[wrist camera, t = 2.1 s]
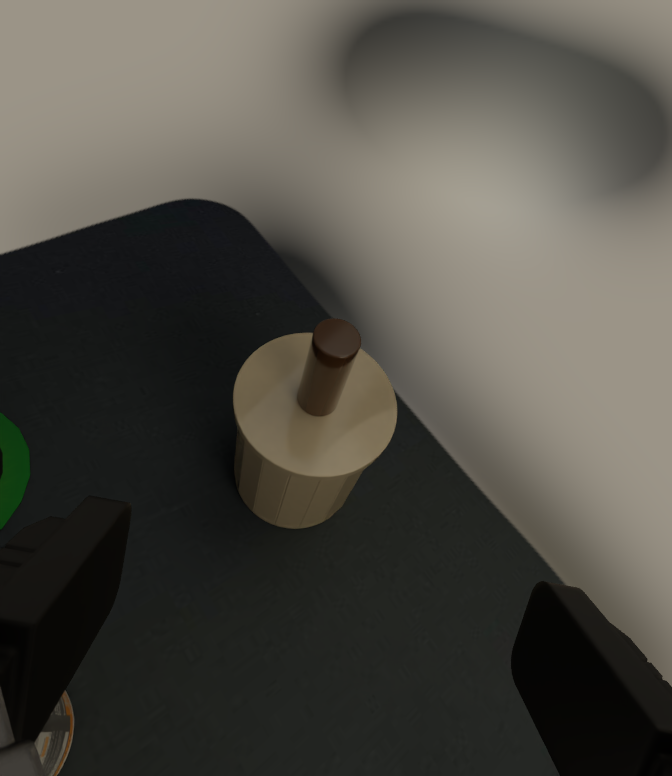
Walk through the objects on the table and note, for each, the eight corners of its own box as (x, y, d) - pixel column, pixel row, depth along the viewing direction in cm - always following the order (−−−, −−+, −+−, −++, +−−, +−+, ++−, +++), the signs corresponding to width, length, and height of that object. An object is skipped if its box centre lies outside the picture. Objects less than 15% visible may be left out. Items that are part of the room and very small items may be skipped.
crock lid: (414, 391, 29) (458, 320, 24) (348, 517, 25) (384, 463, 19) (285, 321, 30) (300, 237, 25) (198, 431, 25) (195, 356, 20)
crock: (369, 454, 35) (408, 387, 28) (316, 551, 31) (347, 501, 24) (273, 401, 36) (288, 322, 29) (210, 489, 32) (210, 422, 25)
